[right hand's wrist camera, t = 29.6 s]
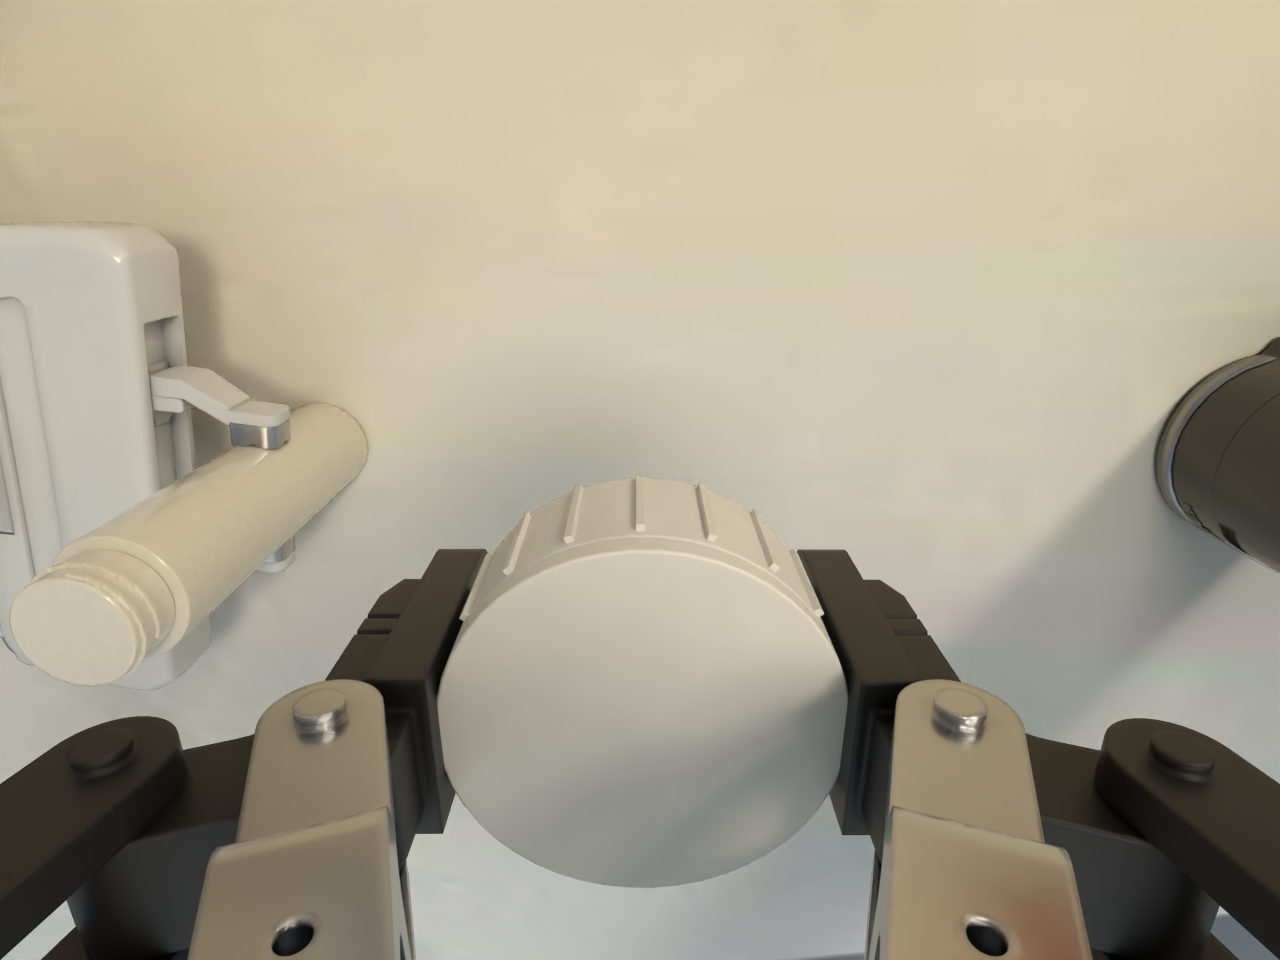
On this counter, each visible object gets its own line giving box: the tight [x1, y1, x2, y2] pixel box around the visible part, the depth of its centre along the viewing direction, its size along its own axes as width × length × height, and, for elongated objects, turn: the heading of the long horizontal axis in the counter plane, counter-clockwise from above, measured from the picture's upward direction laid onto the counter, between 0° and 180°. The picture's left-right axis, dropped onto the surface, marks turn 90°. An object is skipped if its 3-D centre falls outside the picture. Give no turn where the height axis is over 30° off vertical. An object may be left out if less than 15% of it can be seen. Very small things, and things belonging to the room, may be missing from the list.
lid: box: [437, 475, 848, 888], centre depth 10 cm, size 5×5×2 cm
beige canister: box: [9, 403, 368, 686], centre depth 29 cm, size 4×4×18 cm
